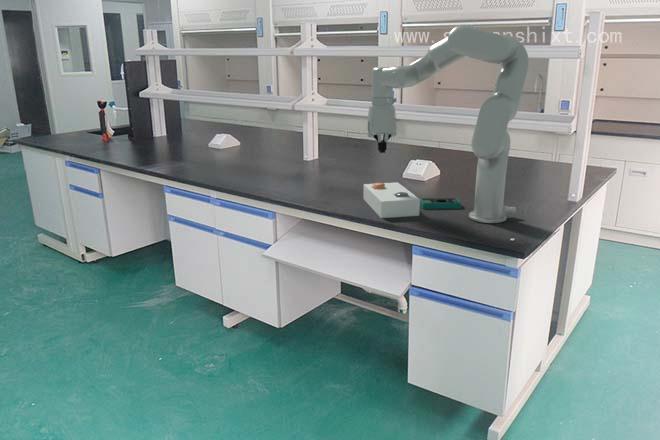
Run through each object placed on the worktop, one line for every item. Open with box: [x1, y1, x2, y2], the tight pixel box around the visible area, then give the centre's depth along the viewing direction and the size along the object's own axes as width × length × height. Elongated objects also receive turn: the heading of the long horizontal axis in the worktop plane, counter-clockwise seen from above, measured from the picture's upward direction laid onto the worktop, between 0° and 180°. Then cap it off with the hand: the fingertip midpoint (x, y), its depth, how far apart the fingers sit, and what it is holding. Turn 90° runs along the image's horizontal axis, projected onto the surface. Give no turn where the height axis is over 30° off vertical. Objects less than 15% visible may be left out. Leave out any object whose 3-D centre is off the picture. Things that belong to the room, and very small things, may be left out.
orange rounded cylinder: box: [372, 182, 385, 189], centre depth 202 cm, size 4×4×6 cm
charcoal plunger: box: [396, 192, 408, 197], centre depth 191 cm, size 4×4×6 cm
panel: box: [363, 181, 421, 219], centre depth 197 cm, size 14×26×6 cm, turn 10°
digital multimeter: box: [419, 197, 462, 210], centre depth 198 cm, size 7×15×3 cm, turn 91°
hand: (382, 152), depth 197 cm, fingers closed
